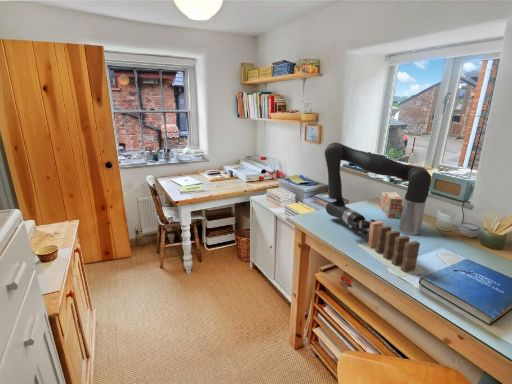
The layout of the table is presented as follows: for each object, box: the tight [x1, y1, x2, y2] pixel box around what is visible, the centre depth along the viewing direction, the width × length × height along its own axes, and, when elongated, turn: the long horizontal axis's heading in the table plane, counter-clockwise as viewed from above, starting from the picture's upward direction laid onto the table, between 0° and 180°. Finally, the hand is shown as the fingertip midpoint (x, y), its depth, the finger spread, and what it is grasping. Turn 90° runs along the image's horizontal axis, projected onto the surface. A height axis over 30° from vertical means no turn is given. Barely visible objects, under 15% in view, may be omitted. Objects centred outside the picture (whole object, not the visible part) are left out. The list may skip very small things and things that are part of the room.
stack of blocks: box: [378, 191, 403, 220], centre depth 170 cm, size 21×6×12 cm, turn 171°
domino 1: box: [375, 225, 392, 254], centre depth 124 cm, size 2×5×12 cm, turn 107°
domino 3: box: [392, 234, 411, 266], centre depth 115 cm, size 2×5×12 cm, turn 107°
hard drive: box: [435, 253, 463, 267], centre depth 117 cm, size 2×8×12 cm
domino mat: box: [357, 242, 426, 278], centre depth 122 cm, size 27×12×1 cm, turn 17°
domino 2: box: [383, 229, 401, 259], centre depth 120 cm, size 2×5×12 cm, turn 107°
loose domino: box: [367, 220, 384, 248], centre depth 129 cm, size 2×5×12 cm, turn 107°
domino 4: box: [401, 240, 421, 272], centre depth 110 cm, size 2×5×12 cm, turn 107°
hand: (375, 232), depth 129 cm, fingers open, 8 cm apart
